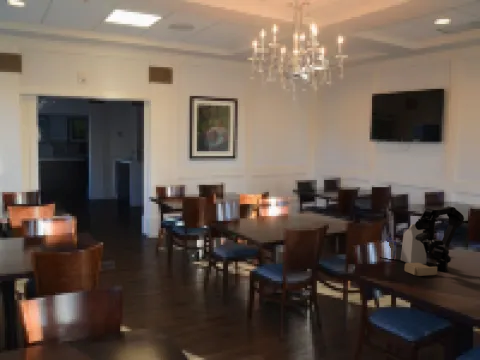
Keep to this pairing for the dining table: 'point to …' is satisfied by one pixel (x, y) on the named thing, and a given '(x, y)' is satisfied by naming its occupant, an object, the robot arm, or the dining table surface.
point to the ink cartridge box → (392, 246)
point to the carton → (413, 267)
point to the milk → (413, 247)
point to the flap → (426, 271)
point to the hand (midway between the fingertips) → (428, 253)
